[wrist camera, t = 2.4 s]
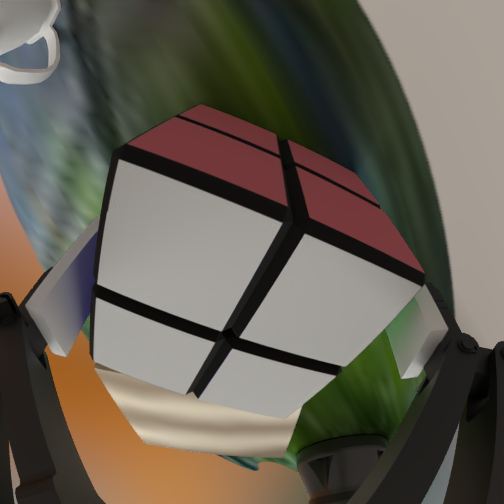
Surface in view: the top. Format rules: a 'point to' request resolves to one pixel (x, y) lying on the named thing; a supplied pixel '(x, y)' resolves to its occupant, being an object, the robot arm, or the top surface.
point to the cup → (28, 36)
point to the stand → (195, 420)
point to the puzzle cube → (240, 265)
